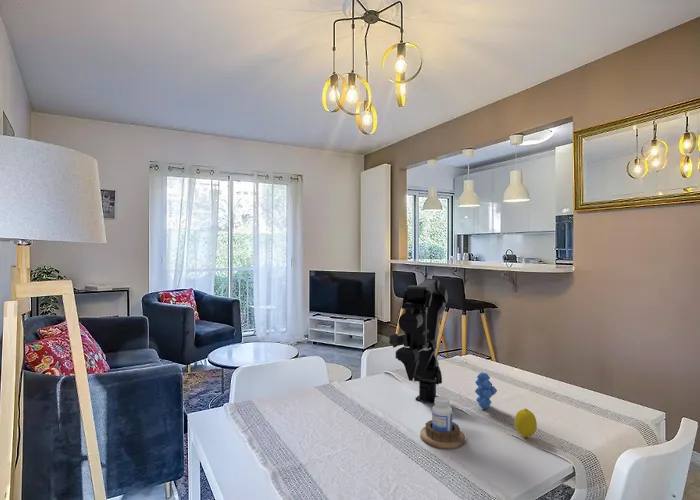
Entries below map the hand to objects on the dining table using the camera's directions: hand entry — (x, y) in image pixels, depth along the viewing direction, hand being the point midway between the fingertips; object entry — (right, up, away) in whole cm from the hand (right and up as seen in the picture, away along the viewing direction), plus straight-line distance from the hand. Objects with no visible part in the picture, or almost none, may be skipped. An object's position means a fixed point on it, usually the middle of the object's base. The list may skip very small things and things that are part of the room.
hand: (416, 376), depth 124 cm
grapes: (+23, -12, +5) cm, 27 cm away
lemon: (+28, -13, -14) cm, 33 cm away
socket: (+5, -12, -15) cm, 20 cm away
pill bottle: (+4, -11, -15) cm, 19 cm away
